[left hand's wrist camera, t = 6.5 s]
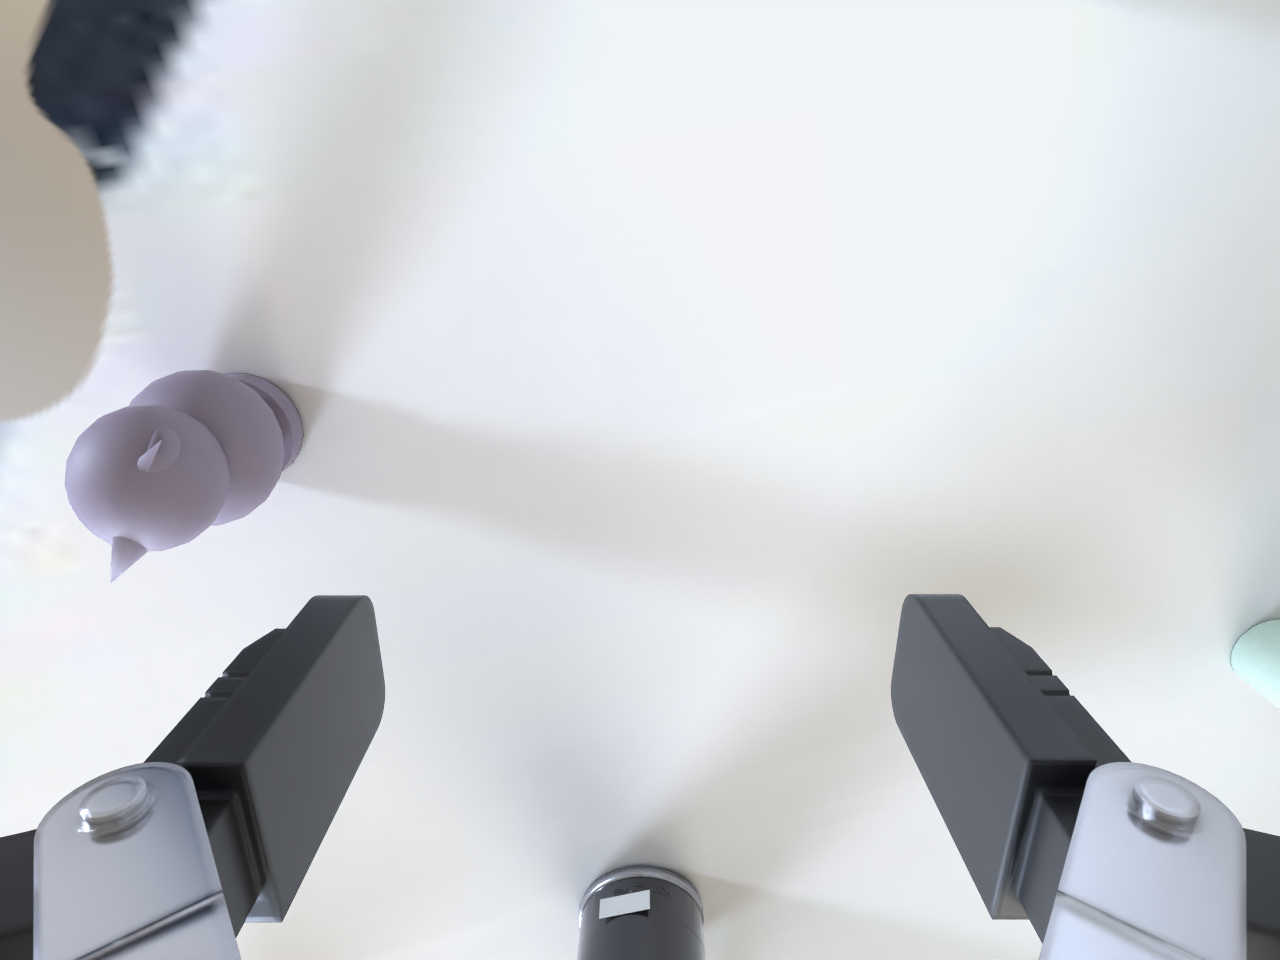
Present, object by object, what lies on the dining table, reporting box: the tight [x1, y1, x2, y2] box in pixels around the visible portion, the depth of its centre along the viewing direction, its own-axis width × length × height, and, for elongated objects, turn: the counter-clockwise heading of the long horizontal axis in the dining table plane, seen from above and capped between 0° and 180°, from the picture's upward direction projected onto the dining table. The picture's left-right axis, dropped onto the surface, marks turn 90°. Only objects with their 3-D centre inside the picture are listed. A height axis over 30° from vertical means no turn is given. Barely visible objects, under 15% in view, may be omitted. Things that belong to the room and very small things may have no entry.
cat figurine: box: [65, 370, 303, 583], centre depth 38 cm, size 8×8×12 cm
